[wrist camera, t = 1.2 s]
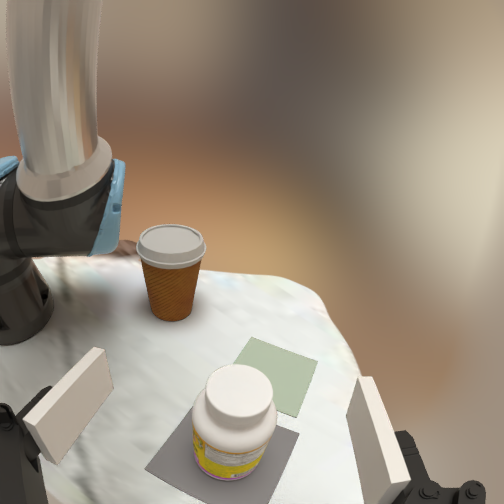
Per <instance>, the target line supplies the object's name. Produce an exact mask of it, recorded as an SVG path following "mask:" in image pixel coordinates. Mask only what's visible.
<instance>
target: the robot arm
mask: <svg viewBox="0 0 504 504" xmlns="http://www.w3.org/2000/svg"><path fill="white" fill-rule="evenodd" d="M102 2H103V0H7V14H6V17H7V18H6V41H7V61H8V72H9V83H10V91H11V98H12V104H13V111H14V117H15V122H16V127H17V132H18V137H19V142H20V146H21V150H22V155H23V159H22V161H21V162H20V164H19V161H18V159H17V157H16V156H8V157H4V158H1V159H0V345H9V344H14V343H18V342H21V341H24V340H26V339H28V338H30V337H31V336H33V335H34V334H36V333H37V332H38V331H39V330H41V329H42V328H43V327H44V325H45V324H46V323H47V322H48V320H49V318H50V317H51V314H52V311H53V306H54V304H53V298H52V295H51V291H50V288H49V286H48V284H47V282H46V281H45V279H44V278H43V276H42V275H41V273H40V271H39V270H38V268H37V267H36V265H35V263H34V262H33V260H32V257H62V256H87V257H90V256H92V255H95V254H106V253H110V252H112V251H114V250H115V249H116V247H117V245H118V242H119V232H120V218H121V206H122V197H123V187H124V176H125V163H124V162H123V161H119V160H117V159H113V160H112V152H111V148H110V146H109V144H108V143H107V142H106V141H105V140H104V139H103V138H101V137H99V136H97V105H96V86H97V85H96V84H97V56H98V40H99V29H100V18H101V10H102ZM113 389H114V387H113V383H112V379H111V375H110V371H109V366H108V362H107V357H106V352H105V349H101V348H97V347H93V348H92V349H91V350H90V351H89V352H88V353H87V354H86V355H85V356H84V357H83V358H82V359H81V360H80V361H79V362H78V363H77V364H76V365H75V366H74V367H73V368H72V369H71V370H70V371H69V372H68V373H67V374H66V375H65V376H64V377H63V378H62V379H61V380H60V381H59V382H58V383H57V384H56V385H55V386H54V387H52V386H48V387H46V388H44V389H42V390H41V391H40V392H39V393H38V394H37V395H36V397H34V398H33V399H32V400H31V402H29V403H28V404H27V405H26V406H25V407H24V408H23V409H22V410H21V411H20V412H19V413H18V414H17V415H16V416H15V415H14V413H13V411H12V409H11V407H10V406H9V405H7V404H5V403H0V504H48V500H47V495H46V491H45V486H44V481H43V475H42V470H41V464H40V459H39V457H38V455H39V453H40V452H41V453H42V454H43V456H44V458H45V459H46V460H48V461H50V462H52V463H54V464H56V465H58V464H59V463H60V462H61V460H62V459H63V457H64V456H65V454H66V453H67V452H68V450H69V449H70V447H71V446H72V445H73V443H74V442H75V440H76V439H77V438H78V436H79V435H80V434H81V432H82V431H83V429H84V428H85V427H86V425H87V424H88V422H89V421H90V420H91V418H92V417H93V416H94V414H95V413H96V412H97V410H98V409H99V407H100V406H101V405H102V403H103V402H104V401H105V399H106V398H107V397H108V395H109V394H110V393H111V391H112V390H113ZM346 418H347V422H348V427H349V431H350V436H351V440H352V445H353V449H354V454H355V459H356V464H357V468H358V473H359V478H360V483H361V489H362V494H363V499H364V504H485V498H486V492H485V488H484V486H483V485H482V484H481V483H480V482H478V481H474V480H472V481H467V482H466V483H464V484H463V485H462V486H461V487H460V488H442V487H440V485H439V484H438V483H436V482H434V481H431V480H430V478H429V476H428V474H427V471H426V469H425V466H424V464H423V461H422V459H421V456H420V455H419V451H418V449H417V448H416V444H415V442H414V439H413V437H412V436H411V435H410V434H409V433H408V432H407V431H406V430H405V431H398V432H394V431H393V428H392V425H391V423H390V420H389V418H388V415H387V413H386V410H385V407H384V405H383V403H382V400H381V397H380V395H379V393H378V390H377V387H376V385H375V383H374V380H373V378H372V377H358V378H357V381H356V385H355V388H354V391H353V395H352V398H351V401H350V404H349V408H348V411H347V414H346Z"/></svg>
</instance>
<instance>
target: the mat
mask: <svg viewBox="0 0 504 504" xmlns="http://www.w3.org/2000/svg"><path fill="white" fill-rule="evenodd" d="M317 363H318V361H315V360H312V359H309V358H307V357H304V356H301V355H298V354H295V353H293V352H290V351H287V350H285V349H282V348H279V347H277V346H274V345H271V344H269V343H266V342H264V341H261V340H258V339H256V338H253V337H251V338H250V340H249V341H248V343H247V344H246V346H245V347H244V349H243V350H242V352H241V353H240V355H239V356H238V357H237V359H236V360H235V362H234V363H233V364H239V365H246V366H250V367H253V368H255V369H257V370H259V371H260V372H262V373H263V374H264V375H265V376H266V377H267V378H268V379H269V381H270V382H271V385H272V388H273V398H272V400H273V402H274V404H275V407H276V410H277V411H279V412H282V413H285V414H288V415H290V416H293V417H297V415H298V413H299V410H300V408H301V405H302V403H303V400H304V398H305V395H306V392H307V390H308V387H309V385H310V382H311V379H312V376H313V374H314V371H315V368H316V365H317Z"/></svg>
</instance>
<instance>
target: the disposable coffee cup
mask: <svg viewBox="0 0 504 504" xmlns="http://www.w3.org/2000/svg"><path fill="white" fill-rule="evenodd" d="M136 250H137V253H138V254H139V256H140V258H141V262H142V267H143V273H144V278H145V283H146V287H147V292H148V297H149V301H150V305H151V310H152V312H153V314H154V315H155V316H156V317H158V318H159V319H162V320H165V321H178V320H181V319H184V318H186V317H187V316H188V315H189V314H190V313H191V310H192V305H193V299H194V294H195V288H196V284H197V279H198V274H199V268H200V263H201V259H202V257H203V255H204V254H205V251H206V245H205V243H204V240H203V236H202V235H201V233H200V232H198V231H197V230H195V229H193V228H191V227H188V226H183V225H177V224H165V225H158V226H153V227H151V228H149V229H147V230H145V231H143V232H142V234H141V235H140V238H139V241H138V243H137V245H136Z"/></svg>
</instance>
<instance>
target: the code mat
mask: <svg viewBox="0 0 504 504" xmlns="http://www.w3.org/2000/svg"><path fill="white" fill-rule="evenodd" d="M192 408H193V407H192ZM192 408H191V409H190V411H189V412H188V413H187V415H186V416H185V417H184V419H183V420H182V421H181V423H180V424H179V425H178V427H177V428H176V429H175V431H174V432H173V433H172V434H171V436H170V437H169V438H168V440H167V441H166V442H165V444H164V445H163V446H162V447H161V449H160V450H159V451H158V452H157V454H156V455H155V456H154V458H153V459H152V460H151V461H150V463H149V464H148V465H147V466H146V468H145V470H147V471H148V472H150V473H152V474H153V475H155V476H157V477H158V478H160V479H162V480H163V481H165V482H167V483H169V484H170V485H172V486H174V487H176V488H178V489H179V490H181V491H183V492H185V493H187V494H189V495H191V496H193V497H195V498H197V499H199V500H201V501H203V502H205V503H207V504H268V503H269V501H270V498H271V496H272V494H273V492H274V490H275V488H276V486H277V484H278V482H279V480H280V477H281V475H282V473H283V471H284V469H285V466H286V464H287V462H288V459H289V457H290V455H291V452H292V450H293V448H294V445H295V443H296V440H297V438H298V436H299V433H297V432H294V431H291V430H289V429H286V428H283V427H280V426H278V425H276V427H275V430H274V432H273V434H272V436H271V438H270V440H269V442H268V444H267V447H266V449H265V451H264V453H263V455H262V457H261V459H260V461H259V463H258V465H257V466H256V468H255V469H254V470H253V471H252V472H251V473H250V474H249V475H247V476H245V477H243V478H241V479H238V480H229V481H227V480H220V479H216V478H213V477H211V476H209V475H208V474H206V473H205V472H204V471H203V470H202V469H201V468H200V467H199V465H198V464H197V462H196V460H195V456H194V450H193V428H192Z"/></svg>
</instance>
